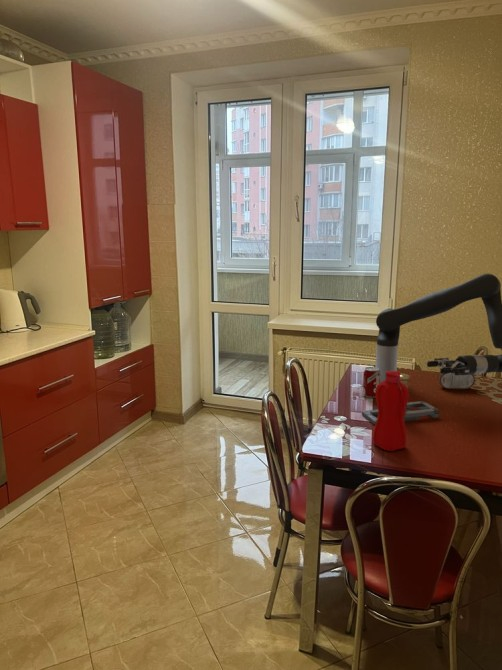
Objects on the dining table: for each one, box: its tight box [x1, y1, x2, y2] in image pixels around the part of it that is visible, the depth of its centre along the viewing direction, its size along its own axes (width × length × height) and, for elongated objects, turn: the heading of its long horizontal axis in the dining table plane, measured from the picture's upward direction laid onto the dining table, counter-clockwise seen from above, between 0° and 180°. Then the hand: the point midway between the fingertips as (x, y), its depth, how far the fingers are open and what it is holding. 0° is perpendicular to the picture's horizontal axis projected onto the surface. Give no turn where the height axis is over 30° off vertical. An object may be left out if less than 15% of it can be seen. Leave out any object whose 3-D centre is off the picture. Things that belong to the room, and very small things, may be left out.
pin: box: [400, 373, 410, 388], centre depth 178 cm, size 5×5×16 cm
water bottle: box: [372, 371, 410, 452], centre depth 152 cm, size 9×11×25 cm
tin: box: [437, 372, 476, 390], centre depth 208 cm, size 15×3×8 cm, turn 84°
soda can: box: [362, 366, 380, 399], centre depth 200 cm, size 7×7×12 cm
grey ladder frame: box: [361, 400, 440, 426], centre depth 179 cm, size 26×10×3 cm, turn 103°
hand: (434, 367), depth 181 cm, fingers open, 8 cm apart
